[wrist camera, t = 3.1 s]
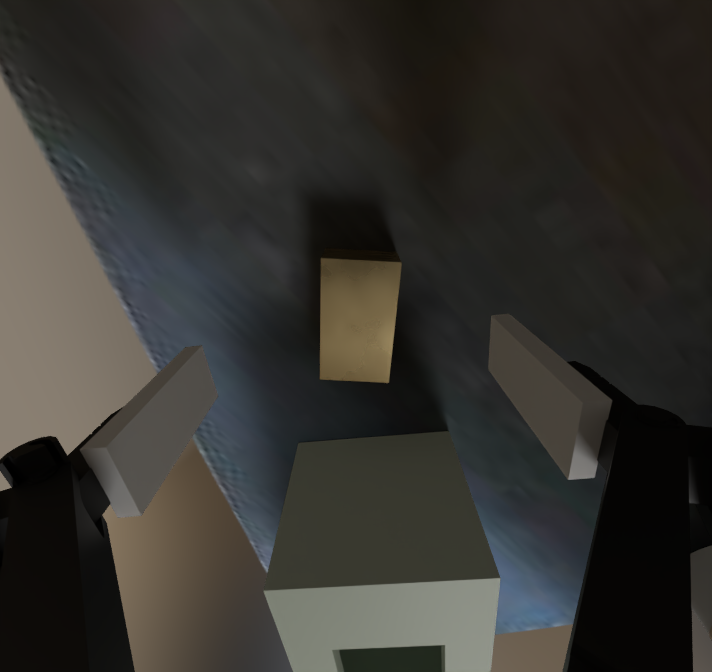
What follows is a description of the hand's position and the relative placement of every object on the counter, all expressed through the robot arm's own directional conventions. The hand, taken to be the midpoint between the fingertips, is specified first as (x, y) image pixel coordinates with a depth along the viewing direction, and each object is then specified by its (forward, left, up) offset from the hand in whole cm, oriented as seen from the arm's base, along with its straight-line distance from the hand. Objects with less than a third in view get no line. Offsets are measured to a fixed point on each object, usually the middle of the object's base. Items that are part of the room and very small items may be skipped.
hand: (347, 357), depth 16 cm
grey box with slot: (+20, 0, -6) cm, 21 cm away
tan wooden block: (0, 0, -6) cm, 6 cm away
